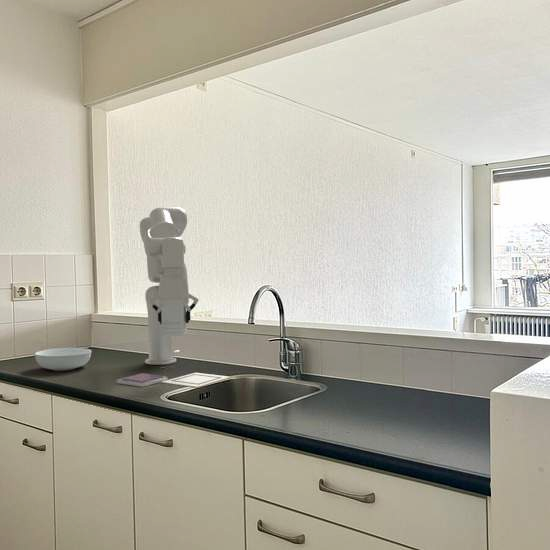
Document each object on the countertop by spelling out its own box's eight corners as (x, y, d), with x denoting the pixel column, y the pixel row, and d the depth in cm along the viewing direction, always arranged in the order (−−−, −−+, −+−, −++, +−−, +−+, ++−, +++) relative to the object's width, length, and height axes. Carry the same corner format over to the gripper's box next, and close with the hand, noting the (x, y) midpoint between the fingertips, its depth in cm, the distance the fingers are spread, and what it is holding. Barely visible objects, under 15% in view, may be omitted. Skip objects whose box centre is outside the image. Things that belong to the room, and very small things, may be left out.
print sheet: (195, 373, 211) (195, 372, 211) (230, 377, 202) (230, 376, 202) (161, 382, 195) (161, 381, 195) (197, 387, 187) (197, 386, 187)
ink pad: (142, 376, 206) (142, 372, 206) (167, 380, 199) (167, 375, 199) (117, 383, 196) (116, 378, 196) (142, 386, 189) (142, 382, 189)
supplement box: (187, 333, 201) (186, 297, 201) (182, 336, 194) (181, 299, 194) (167, 333, 202) (166, 297, 202) (161, 336, 195) (160, 299, 194)
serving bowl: (73, 374, 212) (73, 356, 212) (23, 373, 217) (23, 355, 216) (101, 364, 233) (101, 347, 233) (55, 363, 237) (54, 347, 237)
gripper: (147, 273, 192) (148, 325, 192) (199, 272, 195) (200, 323, 196) (147, 273, 199) (149, 323, 200) (198, 272, 203) (199, 321, 203)
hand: (174, 323), depth 198 cm, fingers closed on supplement box, 8 cm apart
